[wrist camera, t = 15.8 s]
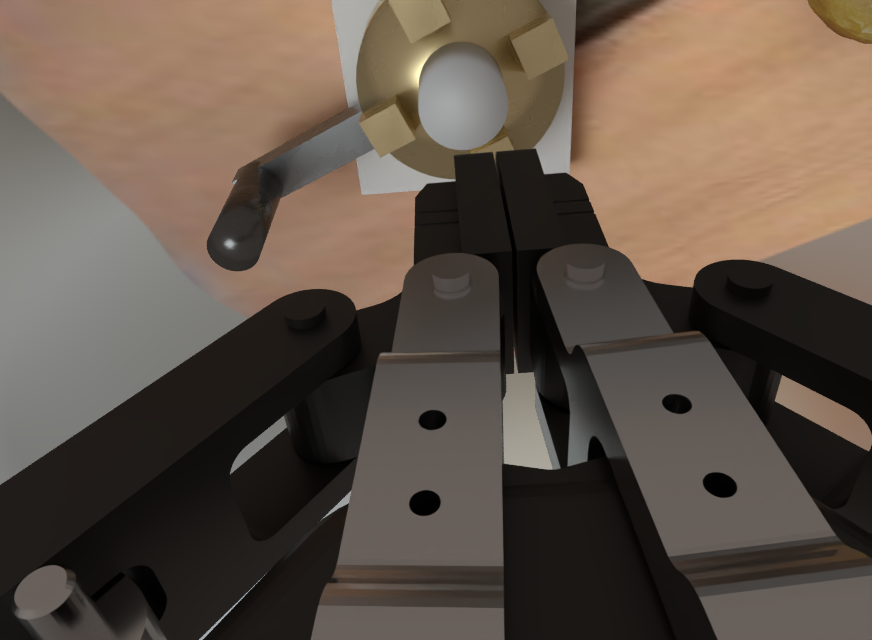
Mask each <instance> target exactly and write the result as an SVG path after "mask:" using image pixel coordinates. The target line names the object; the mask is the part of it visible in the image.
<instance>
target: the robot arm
mask: <svg viewBox="0 0 872 640" xmlns="http://www.w3.org/2000/svg"><path fill="white" fill-rule="evenodd" d="M454 168H455V181H452V182H439V183H427V184H426V185H425V186H424V188H423V189H422V190H421V191H420V192H419V194H418V195H417V196H416V197H415V233H414V266H413V267H412V268H411V269H410V270H409V271H408V272H407V274H406V276H405V279H404V284H403V290H402V292H401V293H400V294H398V295H397V296H395V297H393V298H392V299H390V300H388V301H385V302H383V303H380V304H377V305H374V306H371V307H367V308H364V309H360V310H356V308H355V305H354V303H353V302H352V301H351V299H350V298H348V297H347V296H346V295H344V294H342V293H339V292H336V291H333V290H327V289H310V290H303V291H299V292H294V293H292V294H289V295H286V296H284V297H281V298H279V299H278V300H276V301H274V302H273V303H271V304H270V305H268V306H267V307H265V308H264V309H262V310H261V311H259V312H258V313H256V314H255V315H253V316H252V317H250V318H249V319H247V320H246V321H244V322H243V323H241V324H240V325H238V326H237V327H235V328H234V329H232V330H231V331H229V332H228V333H226V334H225V335H223V336H222V337H220V338H219V339H217V340H216V341H214V342H213V343H212V344H210V345H209V346H207V347H205V348H204V349H203V350H201V351H200V352H198V353H196V354H195V355H194V356H192V357H191V358H189V359H188V360H186V361H185V362H183V363H182V364H180V365H179V366H177V367H176V368H174V369H173V370H171V371H170V372H168V373H167V374H165V375H164V376H162V377H161V378H159V379H158V380H156V381H155V382H153V383H152V384H150V385H149V386H147V387H146V388H144V389H143V390H141V391H140V392H138V393H137V394H135V395H134V396H132V397H131V398H129V399H128V400H126V401H125V402H124V403H122V404H120V405H119V406H118V407H116V408H114V409H113V410H112V411H110V412H109V413H107V414H106V415H104V416H103V417H101V418H100V419H98V420H97V421H95V422H94V423H92V424H91V425H89V426H88V427H86V428H85V429H83V430H82V431H80V432H79V433H77V434H76V435H74V436H73V437H71V438H70V439H68V440H67V441H65V442H64V443H62V444H61V445H59V446H58V447H57V448H55V449H53V450H52V451H50V452H49V453H47V454H46V455H44V456H43V457H41V458H40V459H39V460H37V461H35V462H34V463H32V464H31V465H29V466H28V467H27V468H25V469H23V470H22V471H21V472H19V473H18V474H16V475H15V476H13V477H12V478H10V479H9V480H7V481H6V482H4V483H3V484H1V485H0V640H199V639H200V638H201V637H202V636H203V635H204V634H205V633H206V632H207V631H208V630H209V629H210V628H211V627H212V626H213V625H214V624H215V623H216V622H217V621H218V620H219V619H220V618H221V617H222V616H223V615H224V614H225V613H226V612H227V611H228V610H229V609H230V608H232V606H233V605H235V604H236V603H237V602H238V601H239V600H240V599H241V598H242V597H243V596H244V595H245V594H246V593H247V592H248V591H249V590H250V589H251V588H252V587H253V586H254V585H255V584H256V583H257V582H258V581H259V580H260V579H261V578H262V577H263V576H264V575H265V574H266V573H267V572H268V571H269V572H268V573H267V574H266V575H265V576H264V577H263V578H262V579H261V580H260V581H259V582H258V583H257V584H256V585H255V586H254V587H253V588H252V589H251V590H250V591H249V592H248V593H247V594H246V595H245V597H244V598H243V599H242V600H241V601H240V602H239V603H238V604H237V605H236V606H235V607H234V608H233V609H232V610H231V611H230V612H229V613H228V614H227V615H226V616H225V617H224V618H223V619H222V620H221V622H220V623H219V624H218V625H217V626H216V627H215V628H214V629H213V630H212V631H211V632H210V633H209V634H208V635H207V636H206V637H205V638H204V639H203V640H872V446H871V449H870V451H867V450H864V449H863V448H860V447H859V446H857V445H855V444H853V443H851V442H850V441H847V440H846V439H844V438H842V437H840V436H838V435H836V434H835V433H833V432H831V431H829V430H827V429H825V428H823V427H822V426H820V425H818V424H816V423H814V422H812V421H810V420H809V419H807V418H805V417H803V416H801V415H799V414H797V413H795V412H794V411H792V410H790V409H788V408H786V407H784V406H782V405H781V404H779V403H777V402H775V398H776V394H777V391H778V387H779V384H780V380H781V377H782V375H783V376H785V377H787V378H789V379H791V380H793V381H795V382H797V383H799V384H801V385H803V386H805V387H807V388H809V389H811V390H813V391H815V392H817V393H819V394H821V395H823V396H825V397H827V398H829V399H831V400H833V401H835V402H837V403H839V404H841V405H843V406H845V407H847V408H849V409H850V410H852V411H854V412H855V413H857V414H858V415H859V416H860V417H861V418H862V419H863V420H864V421H865V422H866V424H867V425H868V427H869V429H870V431H871V433H872V305H869V304H867V303H864V302H862V301H860V300H857V299H855V298H852V297H849V296H847V295H845V294H842V293H840V292H837V291H835V290H832V289H830V288H827V287H825V286H822V285H820V284H817V283H815V282H812V281H810V280H807V279H805V278H802V277H800V276H797V275H795V274H792V273H790V272H787V271H785V270H782V269H780V268H777V267H775V266H772V265H769V264H765V263H761V262H757V261H750V260H725V261H720V262H715V263H712V264H710V265H708V266H706V267H704V268H702V269H701V270H700V271H699V272H698V273H697V275H696V277H695V280H694V285H693V288H691V287H683V286H674V285H666V284H659V283H654V282H650V281H646V280H643V279H641V277H640V276H639V274H638V272H637V271H636V269H635V267H634V266H633V264H632V262H631V261H630V260H629V259H628V258H627V257H626V256H625V255H624V254H622V253H620V252H619V251H617V250H614V249H612V248H609V247H608V244H607V242H606V239H605V237H604V234H603V232H602V229H601V227H600V225H599V222H598V220H597V217H596V215H595V214H594V210H593V208H592V205H591V203H590V202H589V198H588V195H587V193H586V190H585V188H584V186H583V184H582V183H580V182H579V181H578V180H576V179H575V178H573V177H572V176H570V175H569V174H568V173H553V174H544V172H543V169H542V166H541V163H540V159H539V156H538V153H537V150H536V148H534V149H521V150H508V151H496V155H495V160H494V155H493V152H485V153H472V154H460V155H454ZM514 351H515V357H516V363H517V369H518V373H527V372H534V377H535V382H536V384H535V385H536V387H535V389H536V391H535V407H536V412H537V415H538V419H539V423H540V426H541V430H542V433H543V436H544V440H545V443H546V447H547V450H548V454H549V457H550V461H551V463H552V467H553V470H546V469H538V468H530V467H523V466H516V465H508V464H504V450H503V449H504V447H503V405H502V404H503V403H502V401H503V398H504V397H505V393H506V374H513V373H514ZM282 416H284V418H285V421H286V425H287V428H286V429H284V430H283V431H282V432H281V433H280V434H278V435H277V436H276V437H275V438H274V439H273V440H271V441H270V442H269V443H268V444H267V445H265V446H264V447H263V448H262V449H260V450H259V451H258V452H257V453H256V454H254V455H253V456H252V457H251V458H250V459H248V460H247V461H246V462H245V463H244V464H242V465H241V466H240V467H239V468H238V469H236V470H235V471H234V472H233V473H231V474H230V471H231V467H232V464H233V462H234V460H235V459H236V457H237V455H238V454H239V453H240V452H241V451H242V449H243V448H245V446H247V445H248V444H249V443H250V442H252V441H253V440H254V439H255V438H257V437H258V436H259V435H260V434H262V433H263V432H264V431H265V430H266V429H268V427H270V426H271V425H273V424H274V423H275V422H276V421H277V420H279V419H280V418H281V417H282ZM351 490H352V491H351ZM350 491H351V496H350V501H349V503H348V504H347V505H345V506H343V507H341V508H339V509H337V510H336V511H334V512H333V513H331V514H330V515H328V516H327V517H325V518H324V519H322V518H323V517H324V516H325V515H326V514H327V513H328V512H329V511H330V510H331V509H333V508H334V507H335V506H336V505H337V504H338V503H339V502H340V501H341V500H342V499H343V498H344V497H345V496H346V495H347V494H348V493H349V492H350ZM321 519H322V520H321ZM320 520H321V521H320ZM319 521H320V522H319ZM318 522H319V523H318Z"/></svg>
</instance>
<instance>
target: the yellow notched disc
mask: <svg viewBox="0 0 872 640" xmlns="http://www.w3.org/2000/svg"><path fill="white" fill-rule="evenodd" d="M453 42H470V43H474V44H477V45H479V46H481V47H483V48H484V49H486V50H487V51H488V52H489V53H490V54H491V55H492V56H493V57H494V58H495V60H496V61H497V63H498V65H499V67H500V70H501V73H502V77H503V81H504V84H505V88H506V91H507V96H508V113H507V117H506V120H505V123H504V125H503V127H502V128H501V130H500V131H499V132H498V134H497V135H496V136H495V137H494V138H493V139H492V140H490V141H489V142H488V143H486V144H484V145H482V146H480V147H477V148H474V149H469V150H455V149H450V148H447V147H445V146H442V145H440V144H439V143H437V142H436V141H434V140H433V139H432V138H431V137H430V136H429V135H428V133H427V132H426V131H425V129H424V128H423V125H422V123H421V120H420V117H419V111H418V96H419V77H420V73H421V70H422V67H423V65H424V63H425V62H426V60H427V59H428V57H429V56H430V55H431V54H432V53H433V52H435V51H436V50H437V49H439V48H440V47H442V46H444V45H446V44H450V43H453ZM567 60H569V57H568V54H567V52H566V50H565V47H564V45H563V42H562V40H561V37H560V35H559V32H558V30H557V28H556V25H555V23H554V20H553V18H552V16H551V15H550V13H549V12H546V10H545V8H544V6H543V5H542V3H541V2H540V0H379V1H378V2H377V4H376V6H375V7H374V9H373V10H372V13H371V15H370V17H369V19H368V22H367V24H366V28H365V31H364V34H363V38H362V42H361V46H360V50H359V54H358V60H357V66H356V86H357V95H358V99H359V103H357V104H356V105H354V106H352V107H350V108H348V109H347V110H345V111H343V112H341V113H339V114H337V115H336V116H334V117H332V118H330V119H328V120H327V121H325V122H323V123H321V124H319V125H318V126H316V127H314V128H312V129H310V130H308V131H307V132H305V133H303V134H301V135H299V136H298V137H296V138H294V139H292V140H290V141H289V142H287V143H285V144H283V145H281V146H279V147H278V148H276V149H274V150H272V151H270V152H269V153H267V154H265V155H263V156H261V157H259V158H258V159H256V160H254V161H252V162H250V163H249V164H247V165H245V166H243V167H241V168H240V169H238V171H237V173H236V175H235V177H234V179H233V181H232V182H233V184H234V187H233V189H232V191H231V193H230V195H229V197H228V199H227V201H226V203H225V205H224V207H223V209H222V211H221V213H220V215H219V217H218V219H217V221H216V223H215V225H214V227H213V229H212V231H211V233H210V236H209V238H208V240H207V250H208V253H209V255H210V257H211V258H212V260H213V261H214V262H215V263H217V264H218V265H219V266H221V267H223V268H225V269H227V270H231V271H244V270H247V269H250V268H251V267H253V266H254V265H255V264H256V263H257V261H258V259H259V257H260V254H261V251H262V248H263V245H264V243H265V240H266V237H267V234H268V232H269V229H270V226H271V223H272V220H273V218H274V215H275V212H276V209H277V207H278V204H279V201H280V198H282V197H284V196H286V195H288V194H290V193H292V192H294V191H295V190H297V189H299V188H301V187H303V186H305V185H307V184H309V183H311V182H313V181H314V180H316V179H318V178H320V177H322V176H324V175H326V174H328V173H330V172H332V171H333V170H335V169H337V168H339V167H341V166H343V165H345V164H347V163H349V162H351V161H352V160H354V159H356V158H358V157H360V156H362V155H364V154H366V153H368V152H370V151H371V150H373V149H375V150H376V152H377V153H378V155H379V157H380V158H381V157H383V156H385V155H387V154H389V153H390V154H391V155H392V156H393V157H395V158H396V159H397V160H398V161H400V162H401V163H403V164H405V165H406V166H408V167H410V168H412V169H414V170H416V171H418V172H420V173H423V174H426V175H429V176H433V177H438V178H443V179H454V180H455V168H454V155H460V154H472V153H485V152H493V155H494V160H495V155H496V151H508V150H521V149H533V148H534V147H535V146H536V144H537V143H538V142H539V141H540V140H541V138H542V137H543V136H544V135H545V133H546V131H547V130H548V128H549V127H550V125H551V123H552V121H553V119H554V117H555V115H556V113H557V110H558V108H559V105H560V102H561V98H562V93H563V88H564V78H565V65H564V62H565V61H567Z"/></svg>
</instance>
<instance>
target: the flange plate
mask: <svg viewBox="0 0 872 640" xmlns="http://www.w3.org/2000/svg"><path fill="white" fill-rule="evenodd" d="M378 1H379V0H331V2H332V8H333V14H334V21H335V27H336V33H337V40H338V46H339V52H340V59H341V65H342V72H343V78H344V84H345V91H346V97H347V103H348V108H350V107H352V106H354V105H356V104H357V103H359V99H358V95H357V86H356V66H357V60H358V54H359V50H360V46H361V42H362V38H363V34H364V31H365V28H366V24H367V22H368V19H369V17H370V15H371V13H372V10H373V9H374V7H375V6H376V4H377V2H378ZM540 2H541V3H542V5H543V6H544V8H545V10H546V12H549V13H550V15H551V16H552V18H553V20H554V23H555V25H556V28H557V30H558V32H559V35H560V37H561V40H562V42H563V45H564V47H565V50H566V52H567V54H568V57H569V60H567V61H565V62H564V65H565V78H564V88H563V93H562V98H561V102H560V105H559V108H558V110H557V113H556V115H555V117H554V119H553V121H552V123H551V125H550V127H549V128H548V130H547V131H546V133H545V135H544V136H543V137H542V138H541V140H540V141H539V142H538V143H537V144H536V146H535V147H534V148H536V150H537V153H538V156H539V159H540V163H541V166H542V169H543V172H544V174H553V173H568V174H569V175H570V151H571V126H572V101H573V75H574V50H575V25H576V0H540ZM418 111H419V117H420V120H421V123H422V125H423V128H424V129H425V131H426V132H427V133H428V135H429V136H430V137H431V138H432V139H433V140H434V141H436V142H437V143H439V144H440V145H442V146H445V147H447V148H450V149H455V150H469V149H474V148H477V147H480V146H482V145H484V144H486V143H488V142H489V141H490V140H492V139H493V138H494V137H495V136H496V135H497V134H498V132H499V131H500V130H501V128H502V127H503V125H504V123H505V120H506V117H507V113H508V96H507V91H506V88H505V84H504V81H503V77H502V73H501V70H500V67H499V65H498V63H497V61H496V60H495V58H494V57H493V56H492V55H491V54H490V53H489V52H488V51H487V50H486V49H484V48H483V47H481V46H479V45H477V44H474V43H470V42H453V43H450V44H446V45H444V46H442V47H440V48H439V49H437V50H436V51H435V52H433V53H432V54H431V55H430V56H429V57H428V59H427V60H426V62H425V63H424V65H423V67H422V70H421V73H420V77H419V96H418ZM534 148H533V149H534ZM356 161H357V167H358V173H359V180H360V186H361V192H362V195H367V194H380V193H392V192H405V191H418V190H422V189H423V188H424V186H425V185H426V184H427V183H439V182H452V181H455V180H454V179H443V178H438V177H433V176H429V175H426V174H423V173H420V172H418V171H416V170H414V169H412V168H410V167H408V166H406V165H405V164H403V163H401V162H400V161H398V160H397V159H396V158H395V157H393V156H392V155H391V154H390V153H389V154H387V155H385V156H383V157H381V158H380V157H379V155H378V153H377V152H376V150H375V149H373V150H371V151H370V152H368V153H366V154H364V155H362V156H360V157H358V158H356Z"/></svg>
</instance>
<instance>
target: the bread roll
mask: <svg viewBox="0 0 872 640" xmlns="http://www.w3.org/2000/svg"><path fill="white" fill-rule="evenodd" d="M808 3H809V5H810V7H811V8H812V10H813V11H814V12H815V13H816V14H817V15H818V16H819V18H820V19H821V20H822V21H823V22H824V23H825V24H826V25H827V26H828V27H829V28H830V29H831V30H833V31H834V32H835V33H837V34H838V35H840V36H842V37H845V38H849V39H853V40H856V41H858V42H861V43H864V44H872V0H808Z"/></svg>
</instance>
